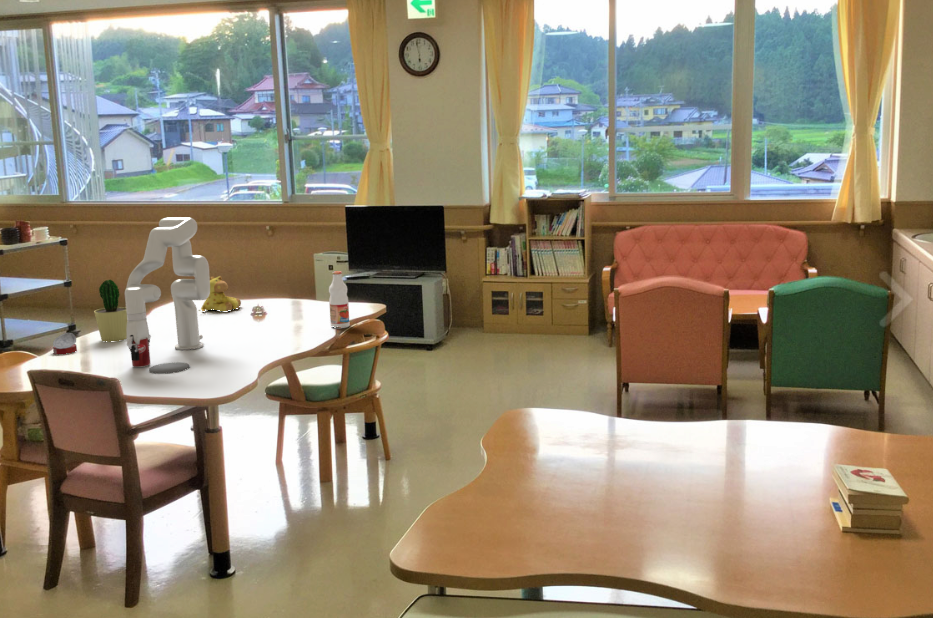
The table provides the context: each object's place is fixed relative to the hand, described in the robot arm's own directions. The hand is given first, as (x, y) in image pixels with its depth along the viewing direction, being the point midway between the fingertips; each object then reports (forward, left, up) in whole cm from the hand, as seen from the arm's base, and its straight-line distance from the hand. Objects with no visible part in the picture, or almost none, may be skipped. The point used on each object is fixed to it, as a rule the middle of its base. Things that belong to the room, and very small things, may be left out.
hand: (140, 357), depth 365 cm
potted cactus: (-49, -44, -4) cm, 66 cm away
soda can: (0, 0, -4) cm, 4 cm away
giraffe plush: (-129, -28, -4) cm, 132 cm away
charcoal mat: (+4, +15, -3) cm, 16 cm away
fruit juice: (-84, +59, -4) cm, 103 cm away
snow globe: (-22, -52, -4) cm, 56 cm away
